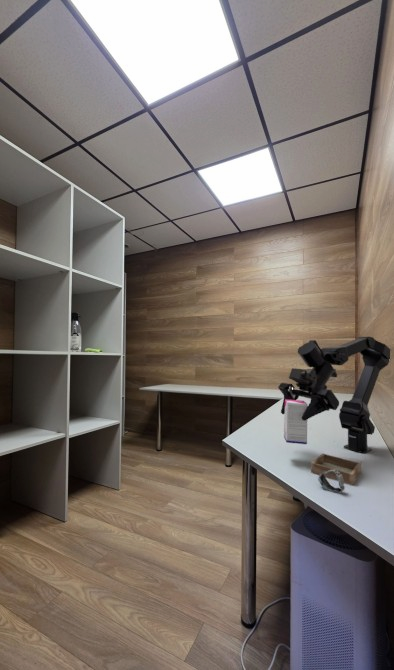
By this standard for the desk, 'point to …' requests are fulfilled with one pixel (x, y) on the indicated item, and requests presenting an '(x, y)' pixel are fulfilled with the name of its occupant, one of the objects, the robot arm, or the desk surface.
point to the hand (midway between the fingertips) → (291, 416)
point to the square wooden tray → (336, 468)
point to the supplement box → (295, 422)
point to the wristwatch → (327, 485)
